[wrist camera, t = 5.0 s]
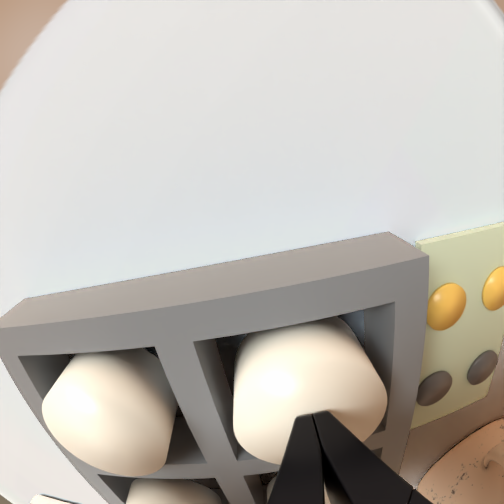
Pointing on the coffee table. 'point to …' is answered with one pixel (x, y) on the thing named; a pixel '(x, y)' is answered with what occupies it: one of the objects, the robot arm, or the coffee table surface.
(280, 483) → the robot arm
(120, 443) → the button
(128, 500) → the button
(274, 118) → the coffee table surface
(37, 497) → the photo printer
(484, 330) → the lights out board
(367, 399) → the button
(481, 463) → the teacup with lid
